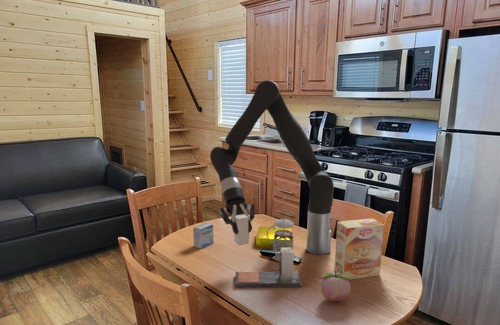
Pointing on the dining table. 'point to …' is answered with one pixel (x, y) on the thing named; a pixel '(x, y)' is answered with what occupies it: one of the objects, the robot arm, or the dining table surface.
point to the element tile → (262, 236)
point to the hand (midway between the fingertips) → (243, 232)
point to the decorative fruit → (335, 286)
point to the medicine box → (203, 235)
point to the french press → (282, 235)
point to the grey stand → (272, 274)
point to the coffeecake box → (359, 248)
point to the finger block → (242, 229)
